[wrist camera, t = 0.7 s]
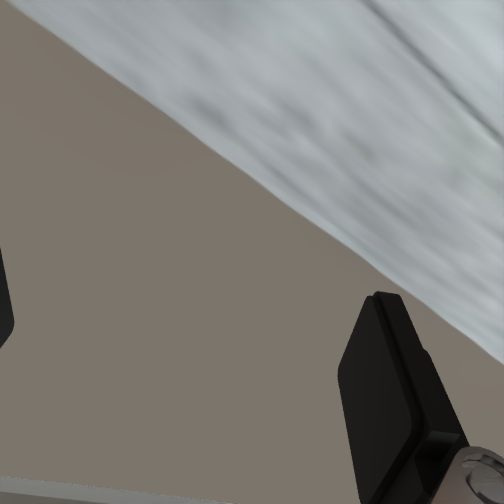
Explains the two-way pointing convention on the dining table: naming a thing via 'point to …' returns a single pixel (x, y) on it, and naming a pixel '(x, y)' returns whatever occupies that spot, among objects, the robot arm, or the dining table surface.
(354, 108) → the dining table surface
